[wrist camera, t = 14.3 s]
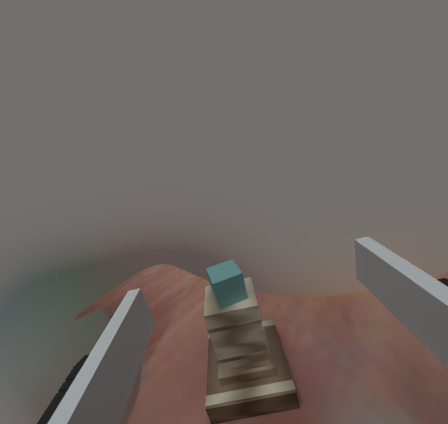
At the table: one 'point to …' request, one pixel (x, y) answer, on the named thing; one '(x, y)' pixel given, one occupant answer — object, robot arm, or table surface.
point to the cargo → (227, 284)
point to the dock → (251, 387)
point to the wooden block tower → (238, 339)
